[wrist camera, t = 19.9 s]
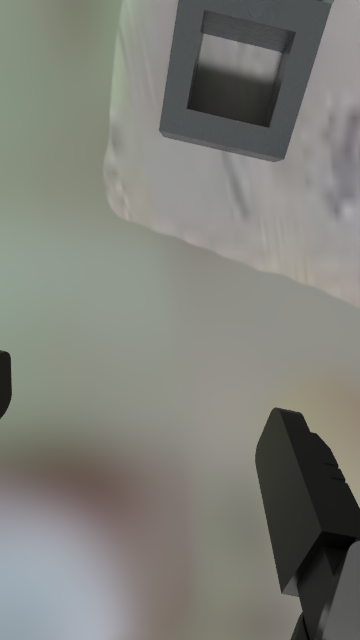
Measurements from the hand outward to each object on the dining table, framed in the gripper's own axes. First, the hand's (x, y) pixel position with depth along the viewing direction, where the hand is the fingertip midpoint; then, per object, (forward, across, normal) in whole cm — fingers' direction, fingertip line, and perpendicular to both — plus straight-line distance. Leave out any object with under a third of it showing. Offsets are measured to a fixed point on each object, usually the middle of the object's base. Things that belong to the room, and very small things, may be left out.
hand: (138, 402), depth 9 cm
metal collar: (+36, -2, -17) cm, 40 cm away
